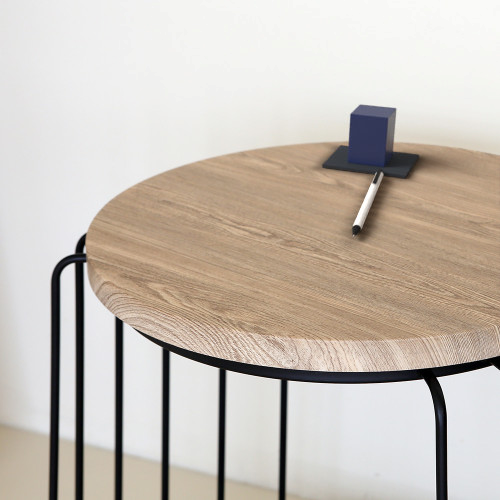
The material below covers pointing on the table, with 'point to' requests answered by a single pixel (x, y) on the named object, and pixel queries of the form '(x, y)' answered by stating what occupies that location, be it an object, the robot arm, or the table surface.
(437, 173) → the table surface
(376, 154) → the block
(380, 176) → the pen
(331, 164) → the mat
